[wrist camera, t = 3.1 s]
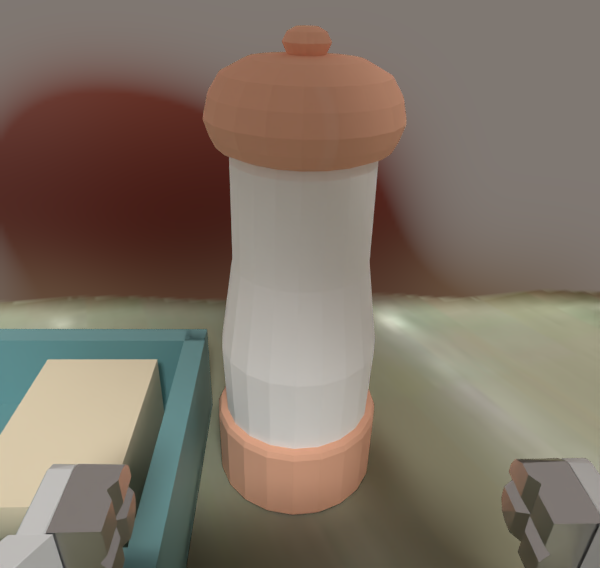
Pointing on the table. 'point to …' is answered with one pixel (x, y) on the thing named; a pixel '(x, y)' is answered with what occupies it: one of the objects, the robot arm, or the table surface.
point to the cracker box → (79, 427)
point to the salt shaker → (300, 266)
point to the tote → (173, 432)
